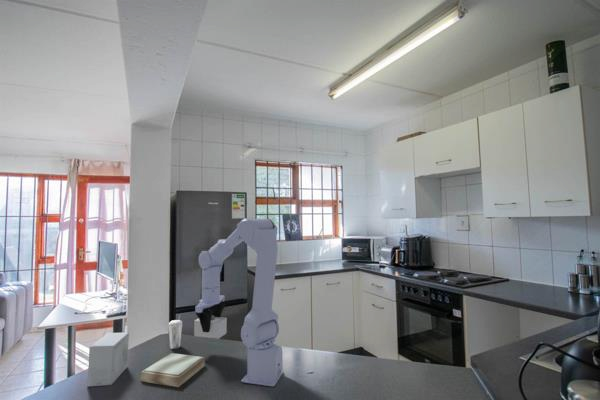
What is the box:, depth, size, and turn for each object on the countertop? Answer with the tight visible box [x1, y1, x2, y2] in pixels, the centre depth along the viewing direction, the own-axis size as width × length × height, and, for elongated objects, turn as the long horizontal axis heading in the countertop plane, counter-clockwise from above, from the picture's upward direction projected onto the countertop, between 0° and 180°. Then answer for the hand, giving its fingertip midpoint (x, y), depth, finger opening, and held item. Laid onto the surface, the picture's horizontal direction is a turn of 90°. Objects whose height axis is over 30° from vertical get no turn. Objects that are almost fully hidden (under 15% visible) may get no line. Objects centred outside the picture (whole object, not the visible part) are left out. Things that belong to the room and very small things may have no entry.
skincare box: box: [86, 331, 130, 388], centre depth 86 cm, size 10×6×10 cm, turn 9°
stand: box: [140, 352, 206, 388], centre depth 87 cm, size 12×12×3 cm
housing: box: [193, 316, 228, 340], centre depth 100 cm, size 9×5×6 cm, turn 74°
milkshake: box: [168, 314, 183, 350], centre depth 106 cm, size 5×5×10 cm
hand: (210, 328), depth 100 cm, fingers closed on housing, 5 cm apart
